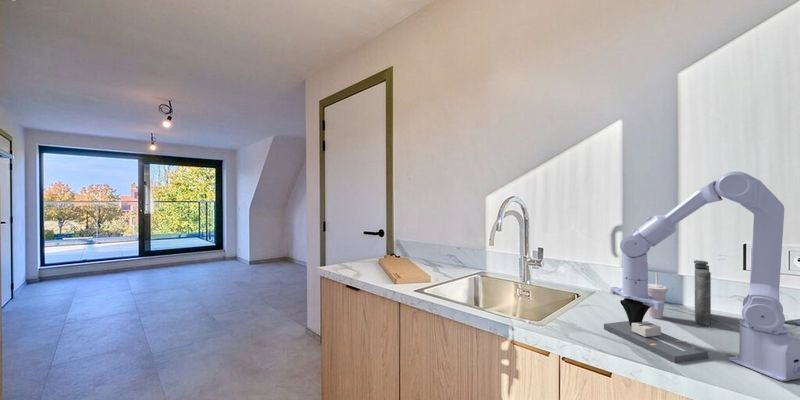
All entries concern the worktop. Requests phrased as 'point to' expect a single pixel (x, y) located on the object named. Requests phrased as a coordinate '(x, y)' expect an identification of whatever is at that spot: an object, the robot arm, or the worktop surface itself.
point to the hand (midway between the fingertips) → (635, 327)
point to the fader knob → (646, 329)
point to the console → (658, 343)
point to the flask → (702, 293)
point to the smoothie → (659, 294)
